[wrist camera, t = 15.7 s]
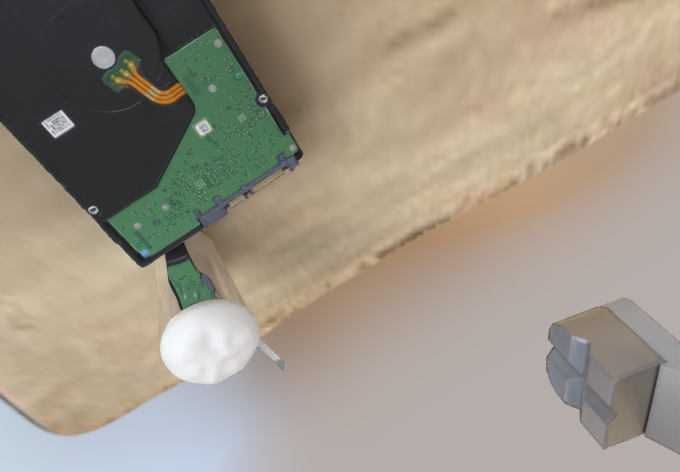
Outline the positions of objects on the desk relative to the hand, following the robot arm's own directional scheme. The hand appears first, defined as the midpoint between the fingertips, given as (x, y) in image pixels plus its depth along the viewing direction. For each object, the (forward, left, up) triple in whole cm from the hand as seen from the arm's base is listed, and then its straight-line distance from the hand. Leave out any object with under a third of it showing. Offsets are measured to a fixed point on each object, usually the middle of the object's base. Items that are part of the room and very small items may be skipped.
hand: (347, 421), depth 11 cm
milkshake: (+2, +11, -24) cm, 27 cm away
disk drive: (+2, +1, -24) cm, 24 cm away
